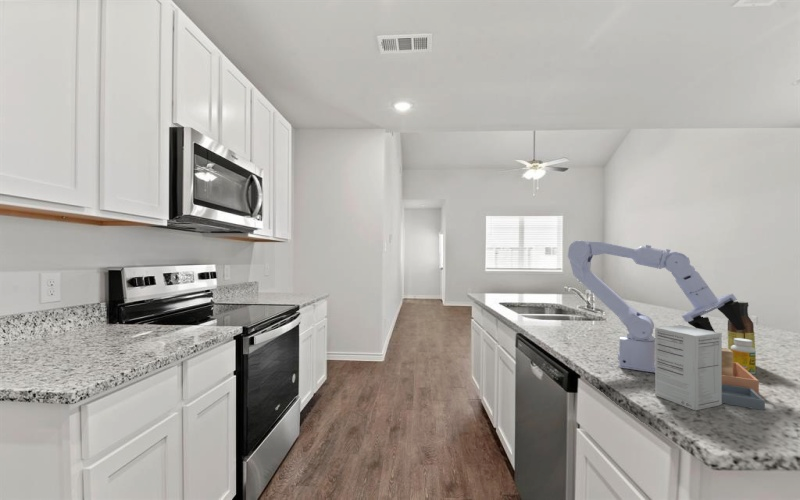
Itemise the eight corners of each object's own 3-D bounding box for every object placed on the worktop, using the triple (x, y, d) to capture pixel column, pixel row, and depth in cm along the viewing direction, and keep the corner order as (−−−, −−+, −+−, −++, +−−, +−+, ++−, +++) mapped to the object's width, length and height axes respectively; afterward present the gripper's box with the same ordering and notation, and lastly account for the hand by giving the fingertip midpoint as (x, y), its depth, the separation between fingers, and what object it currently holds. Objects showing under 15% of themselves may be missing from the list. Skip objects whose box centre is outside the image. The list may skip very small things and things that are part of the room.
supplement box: (680, 390, 91) (680, 324, 91) (723, 405, 82) (723, 332, 82) (653, 395, 88) (653, 326, 88) (695, 411, 79) (695, 335, 79)
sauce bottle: (752, 363, 114) (752, 301, 114) (758, 368, 109) (758, 303, 109) (725, 359, 118) (725, 299, 118) (729, 364, 112) (730, 301, 113)
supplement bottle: (733, 367, 109) (733, 336, 109) (757, 372, 105) (758, 340, 105) (728, 370, 106) (728, 338, 107) (752, 376, 102) (752, 342, 102)
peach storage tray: (702, 388, 92) (702, 372, 92) (690, 370, 107) (690, 356, 107) (758, 397, 87) (758, 380, 87) (737, 376, 101) (737, 362, 101)
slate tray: (714, 401, 84) (714, 392, 84) (705, 389, 91) (706, 381, 91) (764, 410, 80) (764, 400, 80) (751, 396, 87) (751, 388, 87)
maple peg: (713, 383, 96) (713, 349, 96) (709, 378, 100) (709, 346, 100) (732, 386, 94) (733, 352, 94) (728, 381, 98) (728, 348, 98)
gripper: (683, 298, 97) (716, 346, 93) (730, 276, 97) (765, 322, 93) (667, 302, 104) (697, 346, 99) (711, 282, 104) (743, 325, 100)
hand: (729, 335), depth 97 cm, fingers open, 7 cm apart
